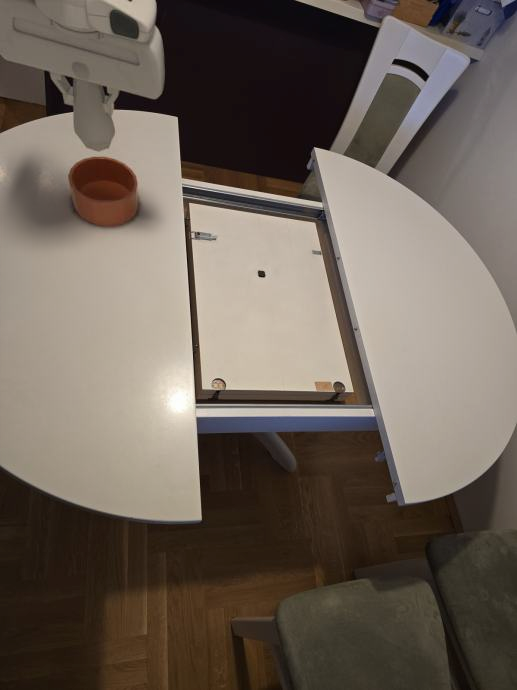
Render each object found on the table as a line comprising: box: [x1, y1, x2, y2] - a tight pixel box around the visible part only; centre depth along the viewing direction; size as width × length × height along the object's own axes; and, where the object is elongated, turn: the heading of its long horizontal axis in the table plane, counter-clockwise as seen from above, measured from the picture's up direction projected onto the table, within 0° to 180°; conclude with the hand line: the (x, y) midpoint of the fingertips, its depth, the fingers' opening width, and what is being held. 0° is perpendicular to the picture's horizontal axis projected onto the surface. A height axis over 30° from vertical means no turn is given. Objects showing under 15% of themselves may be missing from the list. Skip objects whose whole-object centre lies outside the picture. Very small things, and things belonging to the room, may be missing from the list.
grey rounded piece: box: [72, 62, 116, 153], centre depth 55 cm, size 6×6×13 cm
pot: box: [67, 156, 139, 227], centre depth 77 cm, size 12×12×6 cm
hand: (90, 107), depth 56 cm, fingers closed on grey rounded piece, 3 cm apart
